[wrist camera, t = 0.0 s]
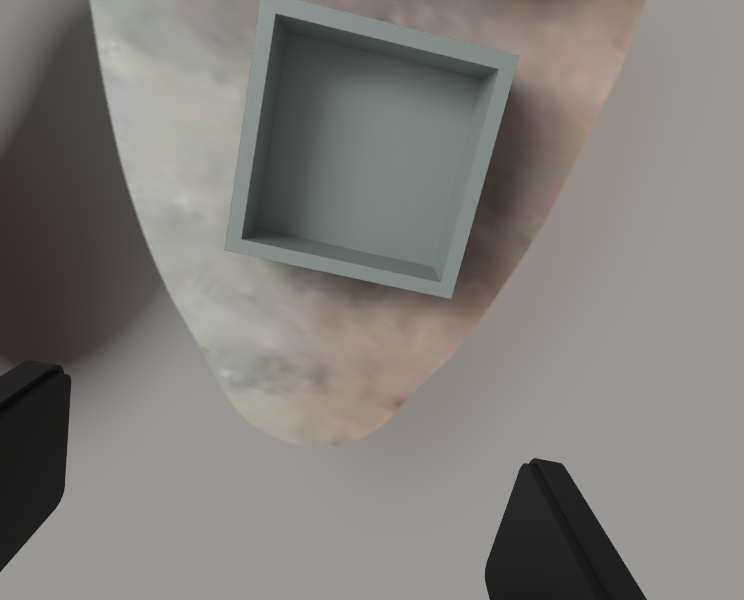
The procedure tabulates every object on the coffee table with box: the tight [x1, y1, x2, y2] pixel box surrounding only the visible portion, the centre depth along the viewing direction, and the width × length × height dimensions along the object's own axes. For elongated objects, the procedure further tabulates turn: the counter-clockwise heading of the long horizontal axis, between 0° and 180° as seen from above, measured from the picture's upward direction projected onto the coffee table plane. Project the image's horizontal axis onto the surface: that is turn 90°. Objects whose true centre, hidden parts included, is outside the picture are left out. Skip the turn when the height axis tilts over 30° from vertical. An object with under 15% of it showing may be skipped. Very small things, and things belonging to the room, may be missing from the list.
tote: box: [225, 0, 519, 299], centre depth 36 cm, size 16×16×6 cm
